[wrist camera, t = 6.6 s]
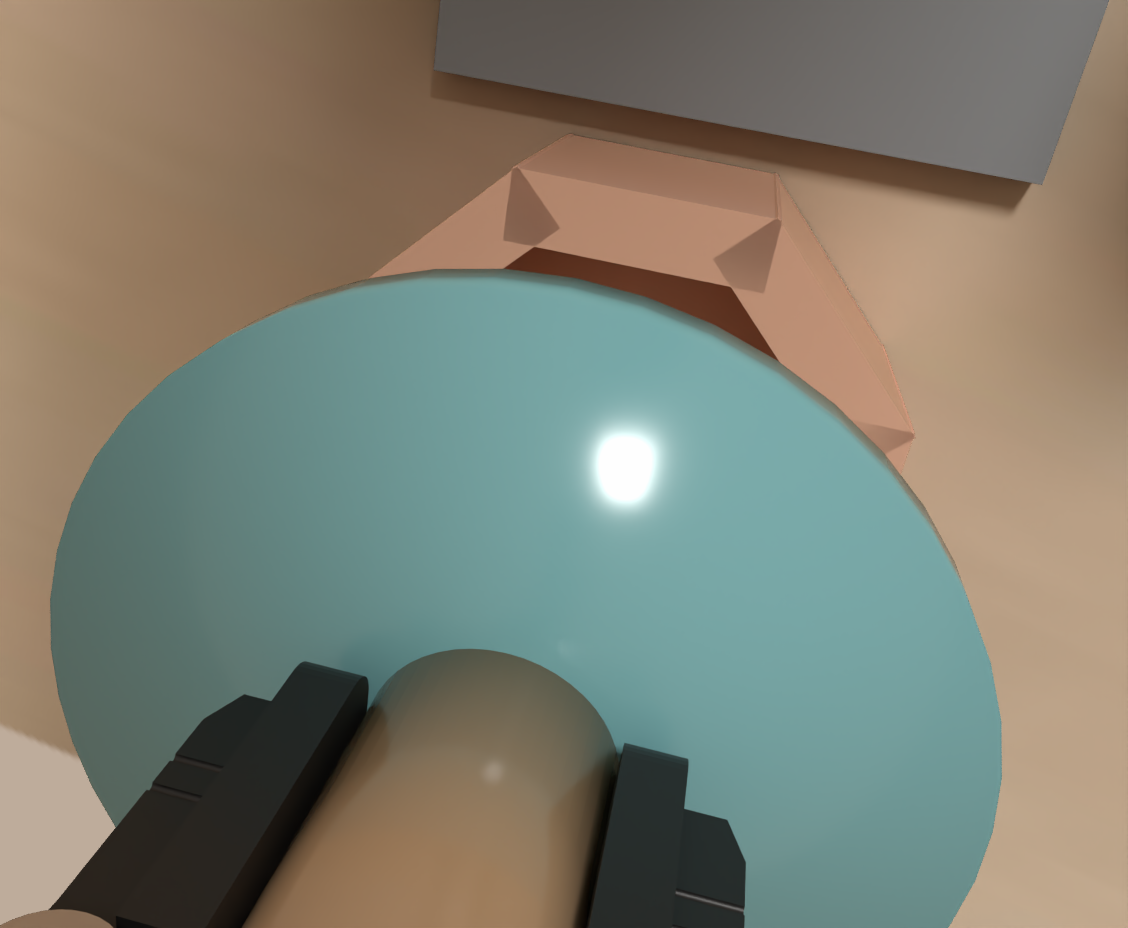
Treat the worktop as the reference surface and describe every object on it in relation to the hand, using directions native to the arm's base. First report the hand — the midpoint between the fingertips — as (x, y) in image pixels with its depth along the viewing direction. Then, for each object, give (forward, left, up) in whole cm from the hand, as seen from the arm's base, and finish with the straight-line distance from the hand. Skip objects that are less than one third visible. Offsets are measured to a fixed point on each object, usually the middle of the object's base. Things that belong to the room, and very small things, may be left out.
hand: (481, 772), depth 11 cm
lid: (0, 0, -1) cm, 1 cm away
